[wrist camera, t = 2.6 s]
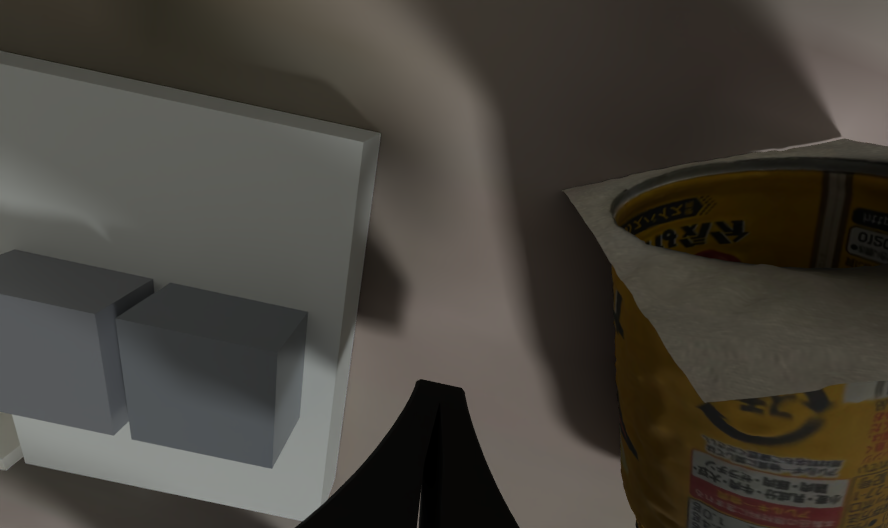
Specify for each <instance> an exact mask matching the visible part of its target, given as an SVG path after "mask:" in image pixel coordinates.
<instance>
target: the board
mask: <svg viewBox="0 0 888 528" xmlns="http://www.w3.org/2000/svg"><path fill="white" fill-rule="evenodd" d="M380 138H381V133H379V132H374V131H369V130H365V129H360V128H355V127H351V126H346V125H342V124H337V123H332V122H328V121H323V120H318V119H314V118H309V117H305V116H300V115H295V114H291V113H286V112H282V111H277V110H272V109H268V108H263V107H258V106H254V105H249V104H245V103H240V102H235V101H231V100H226V99H221V98H217V97H212V96H208V95H203V94H198V93H194V92H189V91H184V90H180V89H175V88H171V87H166V86H161V85H157V84H152V83H147V82H143V81H138V80H134V79H129V78H124V77H120V76H115V75H110V74H106V73H101V72H97V71H92V70H87V69H83V68H78V67H73V66H69V65H64V64H60V63H55V62H50V61H46V60H41V59H36V58H32V57H27V56H23V55H18V54H13V53H9V52H4V51H0V254H3V253H6V252H9V251H12V250H14V249H15V250H20V251H25V252H29V253H34V254H39V255H43V256H48V257H53V258H57V259H62V260H67V261H72V262H76V263H81V264H86V265H90V266H95V267H100V268H104V269H109V270H114V271H119V272H123V273H128V274H133V275H137V276H142V277H147V278H151V279H153V283H154V293H155V292H157V291H158V290H160V289H161V288H163V287H164V286H166V285H167V284H169V283H175V284H180V285H184V286H189V287H194V288H198V289H203V290H208V291H213V292H217V293H222V294H227V295H231V296H236V297H241V298H245V299H250V300H255V301H260V302H264V303H269V304H274V305H278V306H283V307H288V308H292V309H297V310H302V311H307V312H308V321H307V333H306V346H305V359H304V371H303V384H302V396H301V409H300V418H299V420H298V422H297V424H296V425H295V427H294V429H293V431H292V433H291V435H290V437H289V438H288V440H287V442H286V444H285V446H284V448H283V450H282V451H281V453H280V455H279V457H278V459H277V461H276V463H275V464H274V466H273V468H272V469H270V468H265V467H261V466H256V465H251V464H246V463H242V462H237V461H232V460H227V459H222V458H218V457H213V456H208V455H203V454H199V453H194V452H189V451H184V450H180V449H175V448H170V447H165V446H160V445H156V444H151V443H146V442H141V441H137V440H132V439H131V432H130V425H129V422H128V423H127V424H125V425H124V426H123V427H122V428H121V429H120V430H119V431H118V432H117V433H116V434H115V435H114V436H113V435H108V434H103V433H98V432H94V431H89V430H84V429H79V428H75V427H70V426H65V425H60V424H56V423H51V422H46V421H41V420H37V419H32V418H27V417H22V416H17V415H13V414H12V417H13V421H14V424H15V428H16V431H17V435H18V439H19V442H20V446H21V449H22V453H23V456H24V460H25V463H26V464H31V465H36V466H41V467H46V468H50V469H55V470H60V471H65V472H69V473H74V474H79V475H84V476H89V477H93V478H98V479H103V480H108V481H113V482H117V483H122V484H127V485H132V486H136V487H141V488H146V489H151V490H156V491H160V492H165V493H170V494H175V495H180V496H184V497H189V498H194V499H199V500H203V501H208V502H213V503H218V504H223V505H227V506H232V507H237V508H242V509H247V510H251V511H256V512H261V513H266V514H270V515H275V516H280V517H285V518H290V519H294V520H299V521H304V520H305V519H306V518H307V517H308V516H309V515H311V514H312V513H313V512H314V511H315V510H316V509H318V508H319V507H320V506H321V505H322V504H324V503H325V502H326V501H327V499H328V497H329V494H330V491H331V488H332V486H333V483H334V480H335V476H336V468H337V461H338V453H339V446H340V438H341V431H342V423H343V416H344V408H345V401H346V393H347V386H348V378H349V371H350V363H351V356H352V348H353V341H354V333H355V326H356V318H357V311H358V303H359V296H360V288H361V281H362V273H363V266H364V258H365V251H366V243H367V236H368V228H369V221H370V213H371V206H372V198H373V191H374V183H375V176H376V168H377V161H378V153H379V146H380Z"/></svg>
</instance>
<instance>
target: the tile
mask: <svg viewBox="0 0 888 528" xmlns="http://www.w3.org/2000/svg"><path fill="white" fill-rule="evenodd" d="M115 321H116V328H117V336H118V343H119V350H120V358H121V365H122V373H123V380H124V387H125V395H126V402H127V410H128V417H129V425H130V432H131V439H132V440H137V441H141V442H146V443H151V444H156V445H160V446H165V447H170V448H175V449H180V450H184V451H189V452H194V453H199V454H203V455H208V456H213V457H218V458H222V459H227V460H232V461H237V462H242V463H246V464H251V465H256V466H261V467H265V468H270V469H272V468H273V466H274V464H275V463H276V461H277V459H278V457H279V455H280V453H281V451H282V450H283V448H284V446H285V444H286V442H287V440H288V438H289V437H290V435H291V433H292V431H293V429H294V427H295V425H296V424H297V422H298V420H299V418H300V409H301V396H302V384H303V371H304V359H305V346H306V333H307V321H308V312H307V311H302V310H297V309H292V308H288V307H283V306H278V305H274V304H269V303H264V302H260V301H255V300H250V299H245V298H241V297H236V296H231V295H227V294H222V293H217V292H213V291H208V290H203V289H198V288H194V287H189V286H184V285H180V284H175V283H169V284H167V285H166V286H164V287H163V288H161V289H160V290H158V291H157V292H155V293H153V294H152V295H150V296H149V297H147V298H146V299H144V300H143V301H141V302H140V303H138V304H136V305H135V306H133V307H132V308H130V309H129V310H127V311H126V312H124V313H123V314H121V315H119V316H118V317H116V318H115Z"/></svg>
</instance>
